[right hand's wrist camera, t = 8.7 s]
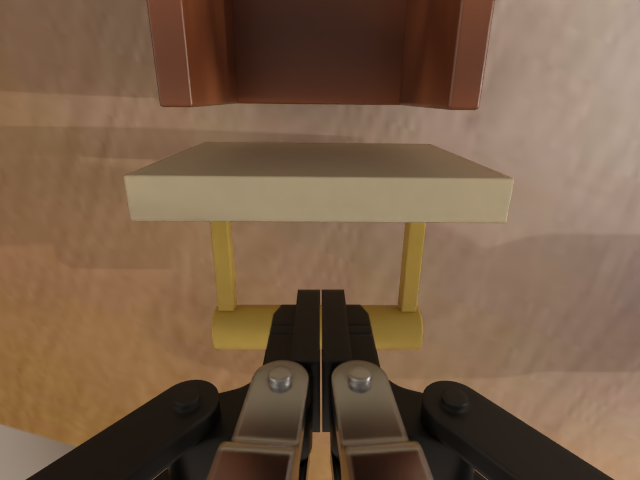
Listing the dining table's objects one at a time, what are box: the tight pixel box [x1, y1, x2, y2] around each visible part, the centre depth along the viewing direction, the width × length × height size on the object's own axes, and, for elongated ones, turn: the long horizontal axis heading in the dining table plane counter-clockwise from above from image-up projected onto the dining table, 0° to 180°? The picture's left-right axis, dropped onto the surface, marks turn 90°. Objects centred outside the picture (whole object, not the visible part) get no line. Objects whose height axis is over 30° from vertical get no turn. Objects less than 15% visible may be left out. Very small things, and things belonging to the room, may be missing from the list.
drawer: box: [124, 0, 514, 350], centre depth 12 cm, size 22×10×8 cm, turn 179°
